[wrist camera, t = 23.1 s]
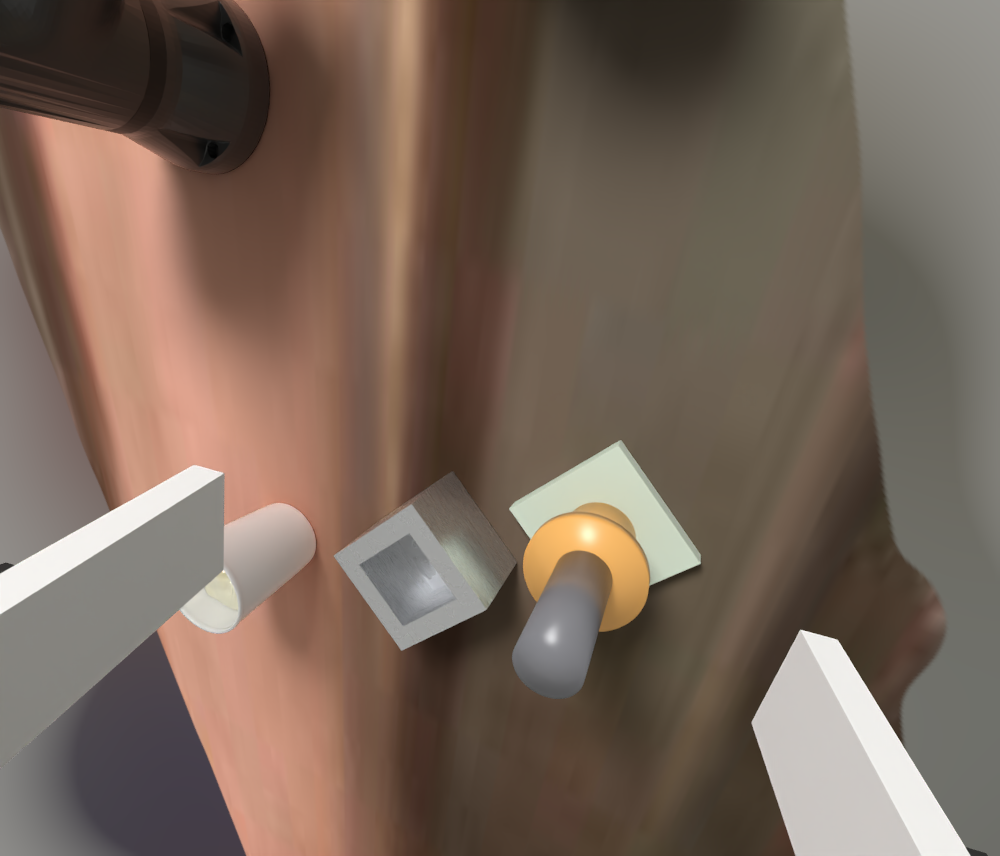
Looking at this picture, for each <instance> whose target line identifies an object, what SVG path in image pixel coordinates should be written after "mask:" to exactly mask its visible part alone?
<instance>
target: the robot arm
mask: <svg viewBox="0 0 1000 856" xmlns="http://www.w3.org/2000/svg"><path fill="white" fill-rule="evenodd" d="M268 105H269V77H268V69H267V64H266V59H265V55H264V51H263V48H262V45H261V42H260V40H259V37H258V35H257V33H256V31H255V28H254V27H253V25H252V23H251V21H250V20H249V18H248V17H247V15H246V14H245V13H244V11H243V10H242V9H241V8H240V7H239V6H238V5H237V4H236V3H235V2H234V1H233V0H0V107H1V108H6V109H10V110H15V111H19V112H24V113H28V114H33V115H38V116H42V117H47V118H51V119H56V120H60V121H65V122H69V123H74V124H78V125H83V126H87V127H92V128H96V129H101V130H106V131H110V132H114V133H118V134H122V135H124V136H126V137H127V138H129V139H131V140H133V141H134V142H136V143H138V144H140V145H141V146H143V147H145V148H146V149H148V150H150V151H152V152H153V153H155V154H157V155H158V156H160V157H162V158H164V159H165V160H167V161H169V162H170V163H172V164H174V165H176V166H179V167H181V168H184V169H187V170H192V171H197V172H202V173H207V174H221V173H226V172H229V171H231V170H233V169H235V168H237V167H238V166H239V165H241V164H242V163H243V162H244V161H245V160H246V159H247V158H248V157H249V156H250V155H251V153H252V152H253V150H254V149H255V147H256V145H257V144H258V142H259V139H260V137H261V135H262V132H263V129H264V126H265V122H266V118H267V113H268ZM223 570H224V473H222V472H218V471H215V470H211V469H207V468H204V467H200V466H196V465H193V466H191V467H189V468H188V469H186V470H184V471H182V472H180V473H179V474H177V475H175V476H173V477H172V478H170V479H168V480H166V481H164V482H163V483H161V484H159V485H157V486H155V487H154V488H152V489H150V490H148V491H147V492H145V493H143V494H141V495H139V496H138V497H136V498H134V499H132V500H131V501H129V502H127V503H125V504H123V505H122V506H120V507H118V508H116V509H114V510H113V511H111V512H109V513H107V514H106V515H104V516H102V517H100V518H98V519H97V520H95V521H93V522H92V523H90V524H88V525H86V526H84V527H82V528H81V529H79V530H77V531H75V532H74V533H72V534H70V535H68V536H66V537H65V538H63V539H61V540H59V541H57V542H56V543H54V544H52V545H50V546H49V547H47V548H45V549H43V550H42V551H40V552H38V553H36V554H34V555H33V556H31V557H29V558H27V559H25V560H24V561H22V562H20V563H18V564H17V565H12V564H9V563H4V564H1V565H0V769H1V768H2V767H3V766H4V765H6V764H7V763H8V762H9V761H10V760H11V759H12V758H13V757H14V756H16V755H17V754H18V753H19V752H20V751H21V750H22V749H23V748H25V747H26V746H27V745H28V744H29V743H30V742H31V741H32V740H34V739H35V738H36V737H37V736H38V735H39V734H40V733H41V732H43V731H44V730H45V729H46V728H47V727H48V726H49V725H50V724H52V723H53V722H54V721H55V720H56V719H57V718H58V717H59V716H60V715H62V714H63V713H64V712H65V711H66V710H67V709H68V708H69V707H71V706H72V705H73V704H74V703H75V702H76V701H77V700H78V699H80V698H81V697H82V696H83V695H84V694H85V693H86V692H87V691H88V690H90V688H92V687H93V686H94V685H95V684H96V683H97V682H99V681H100V680H101V679H102V678H103V677H104V676H105V675H106V674H108V673H109V672H110V671H111V670H112V669H113V668H114V667H115V666H117V665H118V664H119V663H120V662H121V661H122V660H123V659H124V658H126V657H127V656H128V655H129V654H130V653H131V652H132V651H133V650H134V649H136V648H137V647H138V646H139V645H140V644H141V643H142V642H143V641H145V640H146V639H147V638H148V637H149V636H150V635H151V634H152V633H154V632H155V631H156V630H157V629H158V628H159V627H160V626H161V625H163V624H164V623H165V622H166V621H167V620H168V619H169V618H170V617H172V616H173V615H174V614H175V613H176V612H177V611H178V610H179V609H180V608H182V607H183V606H184V605H185V604H186V603H187V602H188V601H189V600H191V599H192V598H193V597H194V596H195V595H196V594H197V593H198V592H200V591H201V590H202V589H203V588H204V587H205V586H206V585H207V584H209V583H210V582H211V581H212V580H213V579H214V578H215V577H216V576H217V575H219V574H220V573H221V572H222V571H223ZM751 723H752V726H753V729H754V732H755V735H756V738H757V741H758V744H759V747H760V750H761V753H762V756H763V759H764V762H765V765H766V768H767V771H768V774H769V777H770V780H771V783H772V786H773V789H774V792H775V795H776V798H777V801H778V804H779V807H780V810H781V813H782V816H783V819H784V822H785V825H786V828H787V831H788V834H789V837H790V840H791V843H792V846H793V849H794V852H795V855H796V856H988V855H987V854H986V853H983V852H980V851H976V850H973V849H970V848H967V847H965V846H964V844H963V843H962V841H961V839H960V838H959V836H958V835H957V833H956V831H955V830H954V828H953V827H952V825H951V823H950V822H949V820H948V818H947V817H946V815H945V814H944V812H943V810H942V809H941V807H940V805H939V804H938V802H937V800H936V799H935V797H934V796H933V794H932V792H931V791H930V789H929V787H928V786H927V784H926V783H925V781H924V779H923V778H922V776H921V775H920V773H919V771H918V770H917V768H916V767H915V765H914V763H913V762H912V760H911V758H910V757H909V755H908V753H907V752H906V750H905V749H904V747H903V745H902V744H901V742H900V740H899V739H898V737H897V736H896V734H895V732H894V731H893V729H892V727H891V726H890V724H889V723H888V721H887V719H886V718H885V716H884V714H883V713H882V711H881V710H880V708H879V706H878V705H877V703H876V701H875V700H874V698H873V697H872V695H871V693H870V692H869V690H868V688H867V687H866V685H865V684H864V682H863V680H862V679H861V677H860V675H859V674H858V672H857V671H856V669H855V667H854V666H853V664H852V663H851V661H850V659H849V658H848V656H847V654H846V653H845V651H844V650H843V648H842V646H841V645H840V643H839V641H838V640H836V639H833V638H829V637H825V636H822V635H818V634H814V633H811V632H807V631H803V630H800V631H799V633H798V635H797V637H796V639H795V641H794V643H793V645H792V646H791V648H790V650H789V652H788V654H787V656H786V658H785V660H784V662H783V664H782V665H781V667H780V669H779V671H778V673H777V675H776V677H775V679H774V681H773V683H772V684H771V686H770V688H769V690H768V692H767V694H766V696H765V698H764V700H763V702H762V703H761V705H760V707H759V709H758V711H757V713H756V715H755V717H754V719H753V721H752V722H751Z"/></svg>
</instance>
